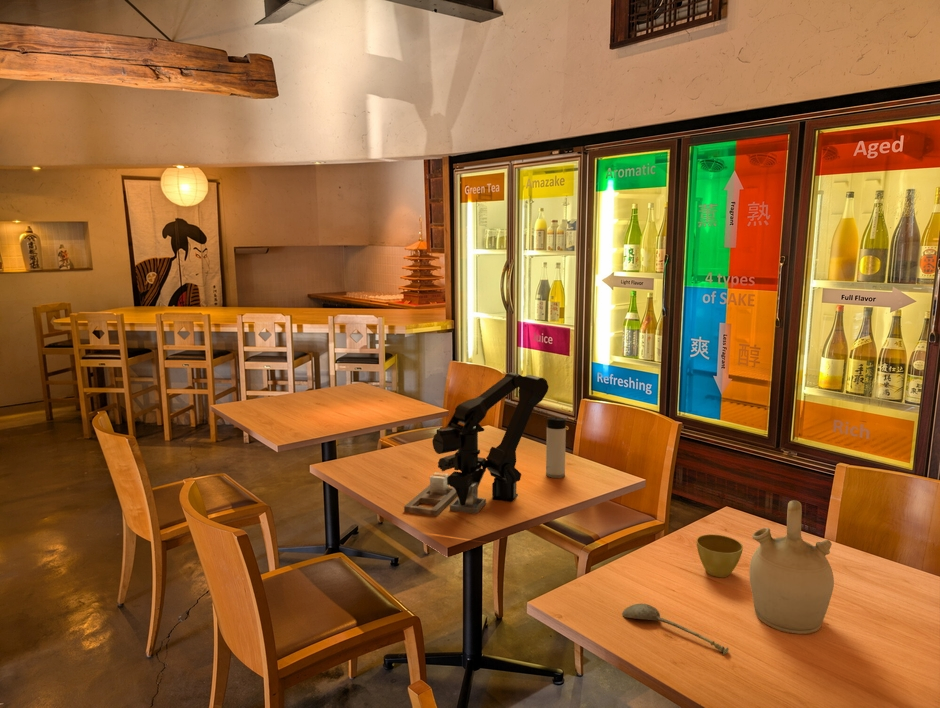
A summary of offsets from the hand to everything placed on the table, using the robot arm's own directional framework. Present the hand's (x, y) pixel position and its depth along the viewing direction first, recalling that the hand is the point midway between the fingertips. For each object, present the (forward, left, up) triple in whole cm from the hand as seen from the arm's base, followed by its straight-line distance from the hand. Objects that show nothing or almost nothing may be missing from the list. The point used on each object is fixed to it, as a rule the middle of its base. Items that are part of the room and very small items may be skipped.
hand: (468, 499), depth 190 cm
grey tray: (0, 0, -3) cm, 3 cm away
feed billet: (0, 0, -2) cm, 2 cm away
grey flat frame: (+11, 0, -3) cm, 11 cm away
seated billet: (+11, -5, -3) cm, 12 cm away
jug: (-81, +33, -3) cm, 88 cm away
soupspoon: (-59, +45, -3) cm, 74 cm away
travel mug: (-18, -36, -3) cm, 40 cm away
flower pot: (-68, +17, -3) cm, 70 cm away
